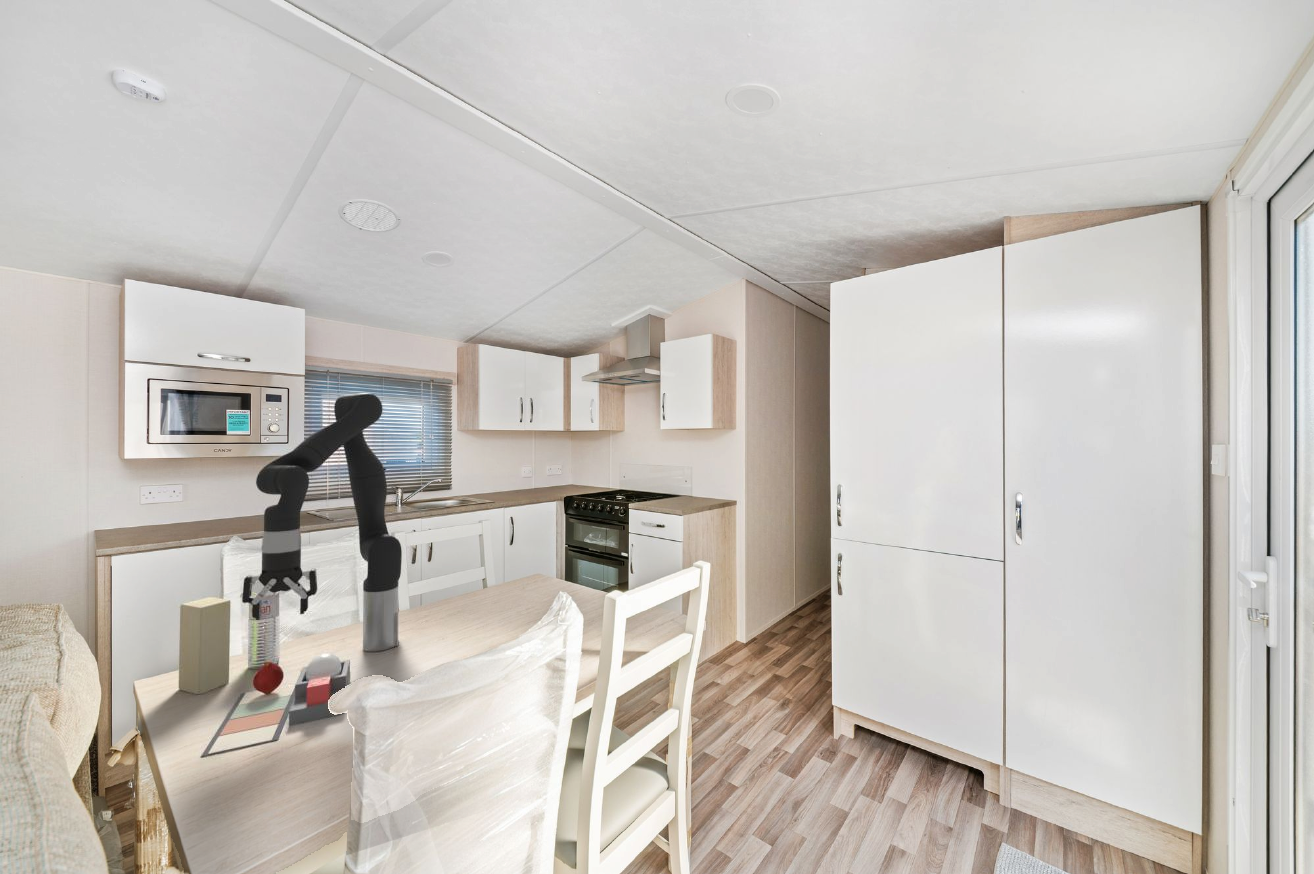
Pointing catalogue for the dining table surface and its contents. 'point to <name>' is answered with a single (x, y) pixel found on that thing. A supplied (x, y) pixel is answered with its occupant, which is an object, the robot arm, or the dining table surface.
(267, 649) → the water bottle
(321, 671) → the white ball
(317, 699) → the red die
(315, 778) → the dining table surface
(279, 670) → the onion
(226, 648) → the tall beige box
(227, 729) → the game mat
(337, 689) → the grey open tray
